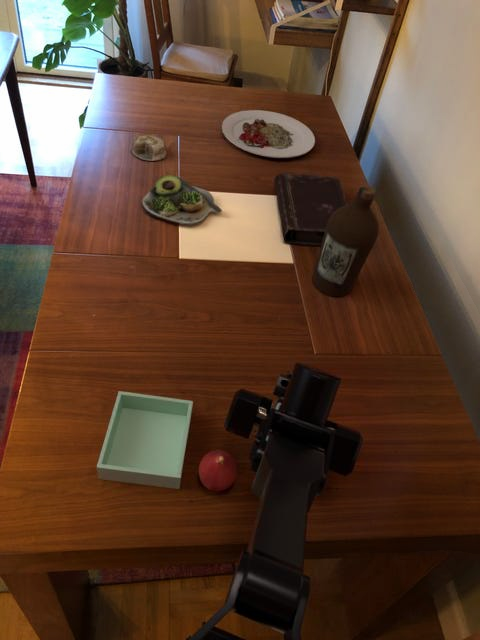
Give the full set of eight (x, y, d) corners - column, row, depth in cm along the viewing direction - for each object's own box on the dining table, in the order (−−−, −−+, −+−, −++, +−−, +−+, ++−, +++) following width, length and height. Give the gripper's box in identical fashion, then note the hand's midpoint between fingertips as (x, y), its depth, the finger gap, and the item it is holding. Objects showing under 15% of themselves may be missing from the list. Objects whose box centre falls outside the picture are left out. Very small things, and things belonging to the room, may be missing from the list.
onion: (194, 466, 76) (197, 442, 70) (229, 460, 77) (235, 436, 71) (200, 502, 72) (205, 480, 66) (237, 495, 73) (244, 472, 68)
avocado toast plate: (232, 201, 126) (234, 185, 123) (205, 237, 114) (207, 222, 111) (166, 178, 129) (166, 163, 126) (133, 212, 117) (133, 196, 114)
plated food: (323, 132, 160) (326, 123, 158) (298, 173, 141) (301, 162, 138) (241, 107, 165) (242, 97, 162) (206, 143, 145) (207, 132, 143)
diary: (281, 243, 117) (285, 227, 113) (272, 187, 133) (276, 171, 130) (354, 250, 119) (360, 234, 115) (336, 193, 136) (342, 177, 132)
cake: (138, 142, 141) (138, 124, 137) (170, 150, 140) (172, 133, 137) (126, 156, 133) (126, 137, 130) (160, 164, 133) (161, 146, 129)
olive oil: (323, 261, 114) (355, 167, 96) (362, 282, 111) (403, 190, 93) (300, 283, 108) (330, 187, 90) (341, 306, 105) (381, 212, 86)
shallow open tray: (179, 491, 73) (180, 477, 69) (99, 481, 72) (96, 467, 68) (191, 416, 82) (193, 400, 78) (120, 406, 81) (118, 390, 77)
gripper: (384, 410, 58) (367, 392, 74) (242, 358, 61) (254, 351, 76) (354, 494, 59) (343, 459, 74) (214, 440, 61) (232, 416, 77)
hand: (293, 419), depth 75 cm, fingers closed on water bottle, 6 cm apart
